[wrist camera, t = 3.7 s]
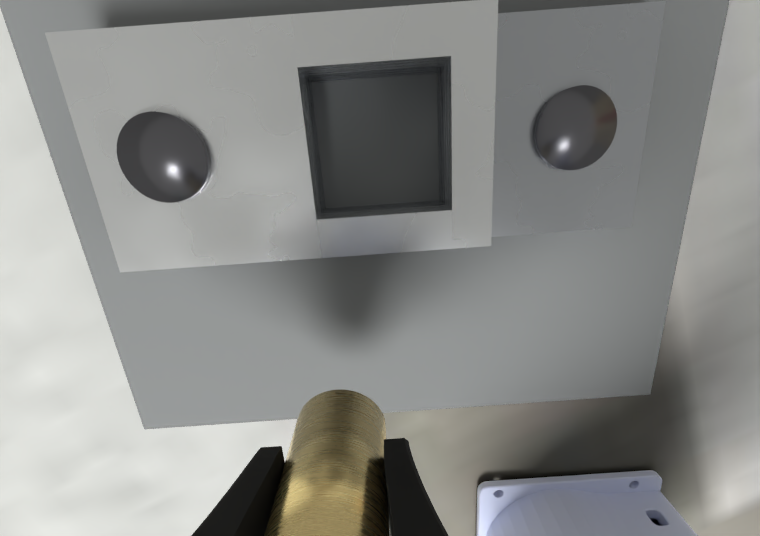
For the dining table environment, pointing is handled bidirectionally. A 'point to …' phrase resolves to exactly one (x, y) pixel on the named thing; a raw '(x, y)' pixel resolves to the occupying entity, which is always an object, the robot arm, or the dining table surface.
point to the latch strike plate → (300, 141)
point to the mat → (391, 270)
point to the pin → (334, 471)
